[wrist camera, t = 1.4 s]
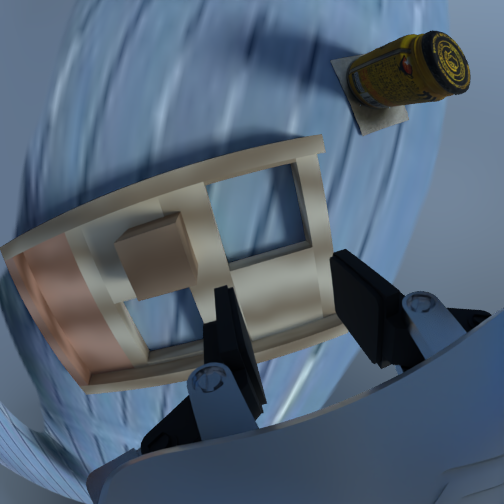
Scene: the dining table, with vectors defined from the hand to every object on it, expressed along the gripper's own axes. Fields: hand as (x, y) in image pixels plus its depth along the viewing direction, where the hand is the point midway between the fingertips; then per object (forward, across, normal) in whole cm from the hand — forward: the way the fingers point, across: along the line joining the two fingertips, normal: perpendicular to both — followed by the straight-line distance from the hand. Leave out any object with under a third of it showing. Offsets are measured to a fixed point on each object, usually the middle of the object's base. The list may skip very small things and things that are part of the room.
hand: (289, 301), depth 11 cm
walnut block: (+13, +8, 0) cm, 15 cm away
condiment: (+16, -16, -10) cm, 25 cm away
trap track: (+15, +8, +4) cm, 18 cm away
